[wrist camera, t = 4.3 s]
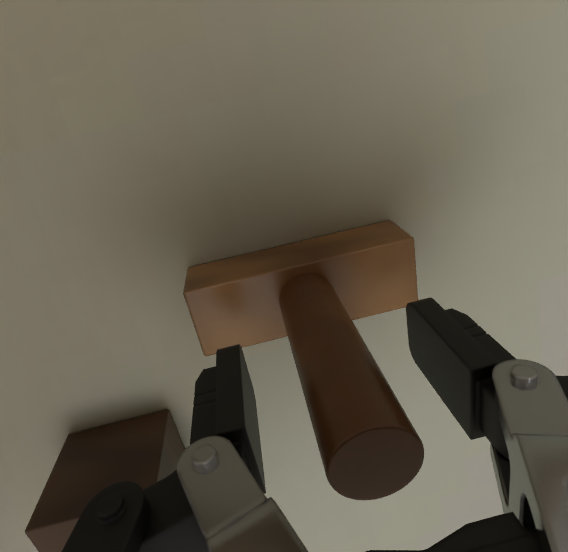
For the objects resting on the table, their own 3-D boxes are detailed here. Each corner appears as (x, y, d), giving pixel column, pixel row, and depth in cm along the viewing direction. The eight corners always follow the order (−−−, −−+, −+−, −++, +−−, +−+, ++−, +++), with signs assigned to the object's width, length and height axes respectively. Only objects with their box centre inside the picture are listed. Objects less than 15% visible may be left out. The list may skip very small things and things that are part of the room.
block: (106, 501, 22) (76, 605, 18) (67, 433, 20) (23, 532, 16) (197, 477, 22) (191, 574, 18) (168, 408, 20) (153, 498, 16)
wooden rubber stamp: (206, 326, 19) (191, 562, 9) (187, 267, 18) (147, 470, 8) (396, 280, 19) (566, 461, 10) (390, 219, 18) (580, 359, 8)
